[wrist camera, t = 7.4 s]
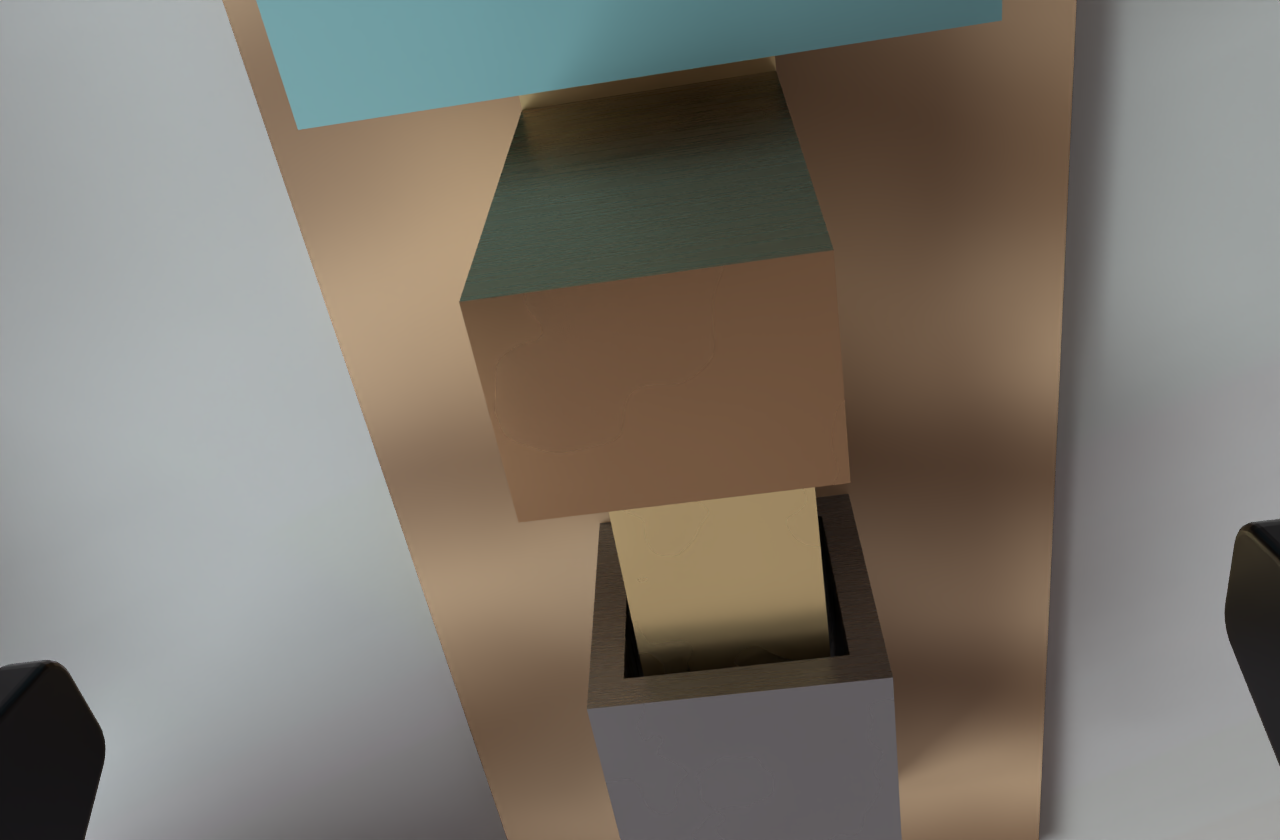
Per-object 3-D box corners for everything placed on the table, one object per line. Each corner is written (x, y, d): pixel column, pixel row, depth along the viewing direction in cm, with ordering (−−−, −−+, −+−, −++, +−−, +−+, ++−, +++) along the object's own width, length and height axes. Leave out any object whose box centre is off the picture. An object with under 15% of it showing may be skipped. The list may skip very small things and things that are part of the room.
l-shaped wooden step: (826, 717, 25) (898, 1145, 17) (680, 732, 25) (689, 1158, 18) (741, -139, 16) (816, 2, 8) (515, -99, 16) (396, 69, 9)
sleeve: (870, 794, 27) (909, 995, 23) (664, 814, 28) (665, 1014, 23) (848, 493, 22) (892, 677, 18) (599, 523, 23) (586, 708, 19)
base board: (1026, 850, 30) (1036, 883, 29) (540, 892, 31) (536, 926, 30) (1074, -496, 15) (1099, -507, 14) (143, -313, 16) (116, -314, 15)
